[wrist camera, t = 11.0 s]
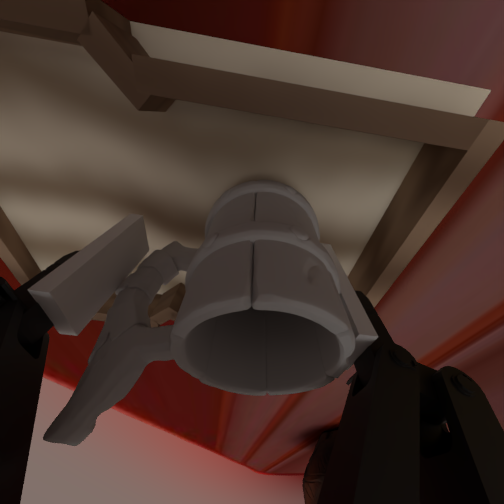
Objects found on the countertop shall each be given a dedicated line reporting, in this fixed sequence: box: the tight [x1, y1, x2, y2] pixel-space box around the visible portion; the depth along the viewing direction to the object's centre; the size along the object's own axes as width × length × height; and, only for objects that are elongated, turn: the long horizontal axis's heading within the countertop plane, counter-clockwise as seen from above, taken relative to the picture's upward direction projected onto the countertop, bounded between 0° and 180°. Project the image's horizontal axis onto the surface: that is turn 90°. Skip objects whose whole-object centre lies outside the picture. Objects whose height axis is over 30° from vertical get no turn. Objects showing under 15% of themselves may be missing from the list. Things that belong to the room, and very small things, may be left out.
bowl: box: [303, 430, 338, 504], centre depth 42 cm, size 25×25×15 cm
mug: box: [43, 180, 355, 446], centre depth 10 cm, size 8×12×12 cm, turn 100°
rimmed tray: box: [0, 0, 504, 327], centre depth 14 cm, size 20×32×4 cm, turn 82°
